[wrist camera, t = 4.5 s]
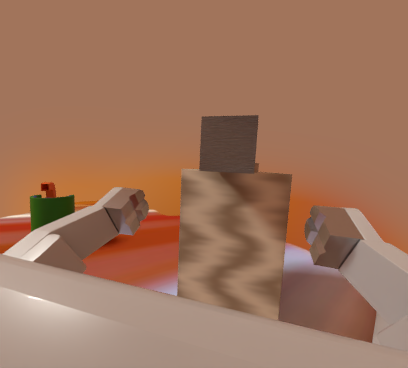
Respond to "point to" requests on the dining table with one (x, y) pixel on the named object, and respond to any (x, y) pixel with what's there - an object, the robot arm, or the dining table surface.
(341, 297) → the dining table surface
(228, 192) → the stand
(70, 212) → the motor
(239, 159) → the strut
